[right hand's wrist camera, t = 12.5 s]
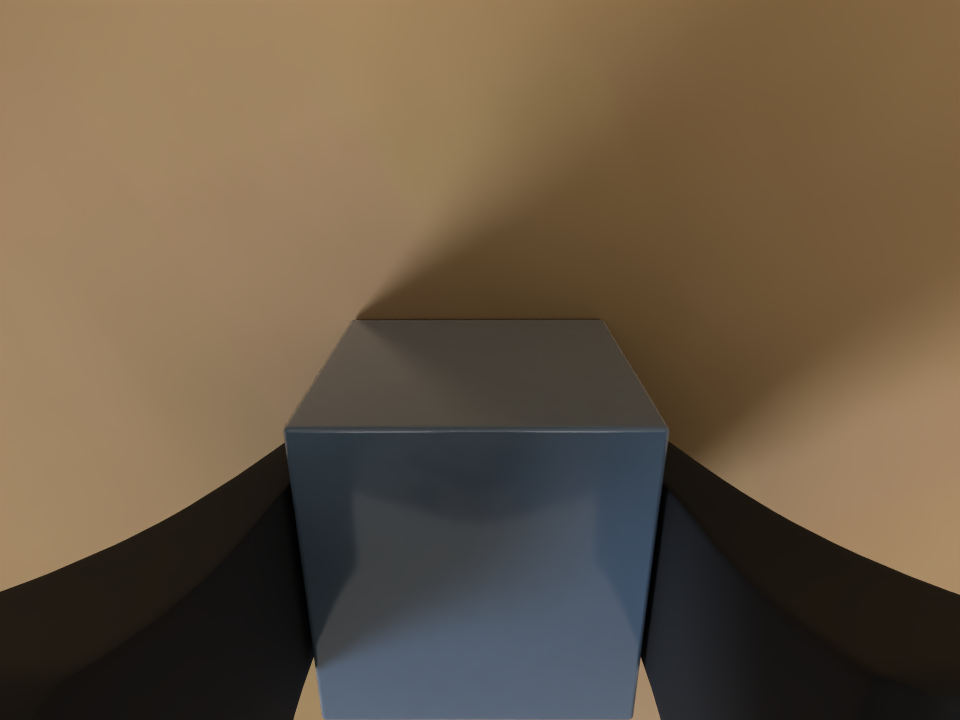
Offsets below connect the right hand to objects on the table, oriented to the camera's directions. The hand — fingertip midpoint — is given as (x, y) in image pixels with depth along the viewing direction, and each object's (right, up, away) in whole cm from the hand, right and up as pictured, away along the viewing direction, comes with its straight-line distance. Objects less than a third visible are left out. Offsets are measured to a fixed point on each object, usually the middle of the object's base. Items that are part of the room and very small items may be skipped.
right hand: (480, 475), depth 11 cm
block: (0, +1, +1) cm, 1 cm away
